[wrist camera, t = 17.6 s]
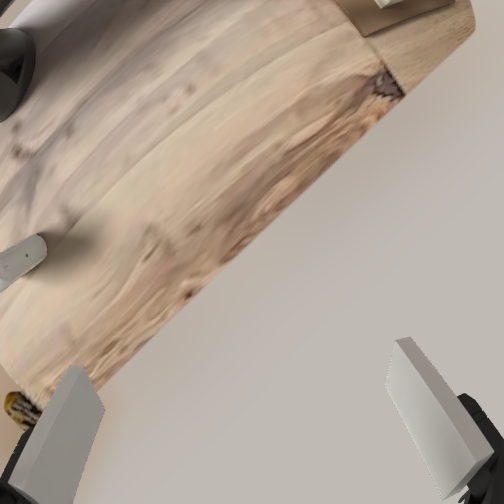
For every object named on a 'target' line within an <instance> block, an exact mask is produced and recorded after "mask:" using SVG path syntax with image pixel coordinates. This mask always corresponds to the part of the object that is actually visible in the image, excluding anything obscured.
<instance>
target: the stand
mask: <svg viewBox="0 0 504 504" xmlns="http://www.w3.org/2000/svg"><path fill="white" fill-rule="evenodd" d="M334 1H335V2H336V3H337V4H338V5H339V7H340V8H341V9H342V10H343V11H344V13H345V14H346V15H347V16H348V18H349V19H350V20H351V22H352V23H353V24H354V25H355V27H356V28H357V29H358V31H359V32H360V33H361V35H362V36H363V37H366V36H368V35H370V34H372V33H375V32H377V31H379V30H382V29H384V28H386V27H389V26H391V25H394V24H396V23H399V22H401V21H404V20H407V19H409V18H412V17H415V16H417V15H420V14H423V13H426V12H429V11H432V10H435V9H438V8H441V7H444V6H447V5H450V4H452V3H454V2H455V0H334Z"/></svg>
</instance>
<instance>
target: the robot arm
mask: <svg viewBox="0 0 504 504" xmlns="http://www.w3.org/2000/svg"><path fill="white" fill-rule="evenodd" d="M14 1H15V0H0V17H1V16H2V15H3V14H4V12H5V11H6V10H7V9H8V8H9V7H10V6H11V5H12V4H13V2H14ZM34 64H35V48H34V43H33V41H32V39H31V37H30V36H29V35H28V34H27V33H25V32H23V31H20V30H18V29H14V28H7V29H0V122H1V121H3V120H4V119H6V118H7V117H8V116H9V115H10V114H11V113H12V112H13V111H14V110H15V108H16V107H17V106H18V104H19V103H20V101H21V100H22V98H23V96H24V94H25V92H26V90H27V88H28V85H29V83H30V80H31V77H32V74H33V69H34ZM385 388H386V390H387V392H388V394H389V396H390V398H391V399H392V401H393V403H394V405H395V407H396V409H397V410H398V412H399V414H400V416H401V418H402V420H403V422H404V424H405V426H406V427H407V429H408V431H409V433H410V435H411V437H412V439H413V441H414V443H415V445H416V447H417V449H418V451H419V453H420V455H421V456H422V459H423V460H424V462H425V465H426V467H427V469H428V471H429V473H430V475H431V477H432V479H433V481H434V483H435V485H436V487H437V489H438V491H439V493H440V496H441V498H442V500H444V499H447V498H448V497H450V496H453V495H454V494H456V493H458V492H460V491H461V490H462V489H463V488H464V487H465V485H467V486H468V488H469V490H468V491H467V492H466V493H465V494H464V495H463V496H462V497H461V498H460V500H459V501H458V503H461V502H462V501H463V500H464V499H465V501H464V504H504V439H503V437H502V436H501V435H500V433H499V432H498V430H497V429H496V428H495V426H494V425H493V423H492V422H491V421H490V419H489V418H487V415H486V414H485V412H484V411H482V409H481V407H480V406H479V404H478V403H477V402H476V400H475V399H473V398H472V397H470V396H468V395H467V394H465V393H464V394H461V395H459V396H457V397H456V395H455V394H454V393H453V391H452V390H451V389H450V387H449V386H448V385H447V383H446V382H445V381H444V379H443V378H442V376H441V375H440V374H439V373H438V372H437V370H436V369H435V367H434V366H433V365H432V363H431V362H430V361H429V360H428V358H427V357H426V356H425V355H424V353H423V352H422V351H421V349H420V348H419V347H418V346H417V345H416V343H415V342H414V341H413V339H412V338H411V337H407V338H403V339H398V340H395V343H394V348H393V353H392V358H391V362H390V366H389V371H388V375H387V380H386V383H385ZM104 412H105V408H104V406H103V404H102V402H101V400H100V398H99V396H98V394H97V392H96V390H95V388H94V387H93V385H92V383H91V381H90V378H89V376H88V374H87V372H86V370H85V368H84V367H82V366H70V367H69V368H68V370H67V372H66V373H65V375H64V377H63V378H62V380H61V382H60V383H59V385H58V387H57V388H56V390H55V392H54V394H53V395H52V397H51V399H50V401H49V402H48V404H47V406H46V408H45V410H44V411H43V413H42V415H41V417H40V419H39V420H38V422H37V424H36V426H35V428H31V427H30V428H29V429H28V430H27V431H26V432H25V433H23V434H22V436H21V438H20V440H19V442H18V444H17V446H16V447H15V450H14V451H13V452H14V453H13V454H12V455H11V457H10V459H9V461H8V463H7V465H6V468H5V469H4V472H3V474H2V476H1V478H0V504H73V501H74V497H75V494H76V491H77V488H78V485H79V481H80V479H81V476H82V473H83V470H84V467H85V463H86V461H87V458H88V455H89V453H90V450H91V447H92V444H93V441H94V439H95V436H96V433H97V430H98V428H99V425H100V423H101V420H102V418H103V415H104Z"/></svg>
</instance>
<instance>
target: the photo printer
mask: <svg viewBox="0 0 504 504" xmlns="http://www.w3.org/2000/svg"><path fill="white" fill-rule="evenodd" d="M46 256H47V246H46V243H45V241H44V239H43V238H42V237H41V236H38V235H37V234H33V235H31V236H29V237H27V238H25V239H23V240H21V241H19V242H18V243H16V244H14V245H12V246H11V247H9V248H7V249H6V250H4V251H2V252H1V253H0V293H1V292H3V291H4V290H5V289H6V288H8V287H9V286H10V285H11V284H12V283H14V282H15V281H16V280H18V279H19V278H20V277H21V276H23V275H24V274H25V273H27V272H28V271H30V270H31V269H32V268H34V267H35V266H36V265H38V264H39V263H40V262H41V261H42V260H43V259H44V258H45V257H46Z"/></svg>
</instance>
